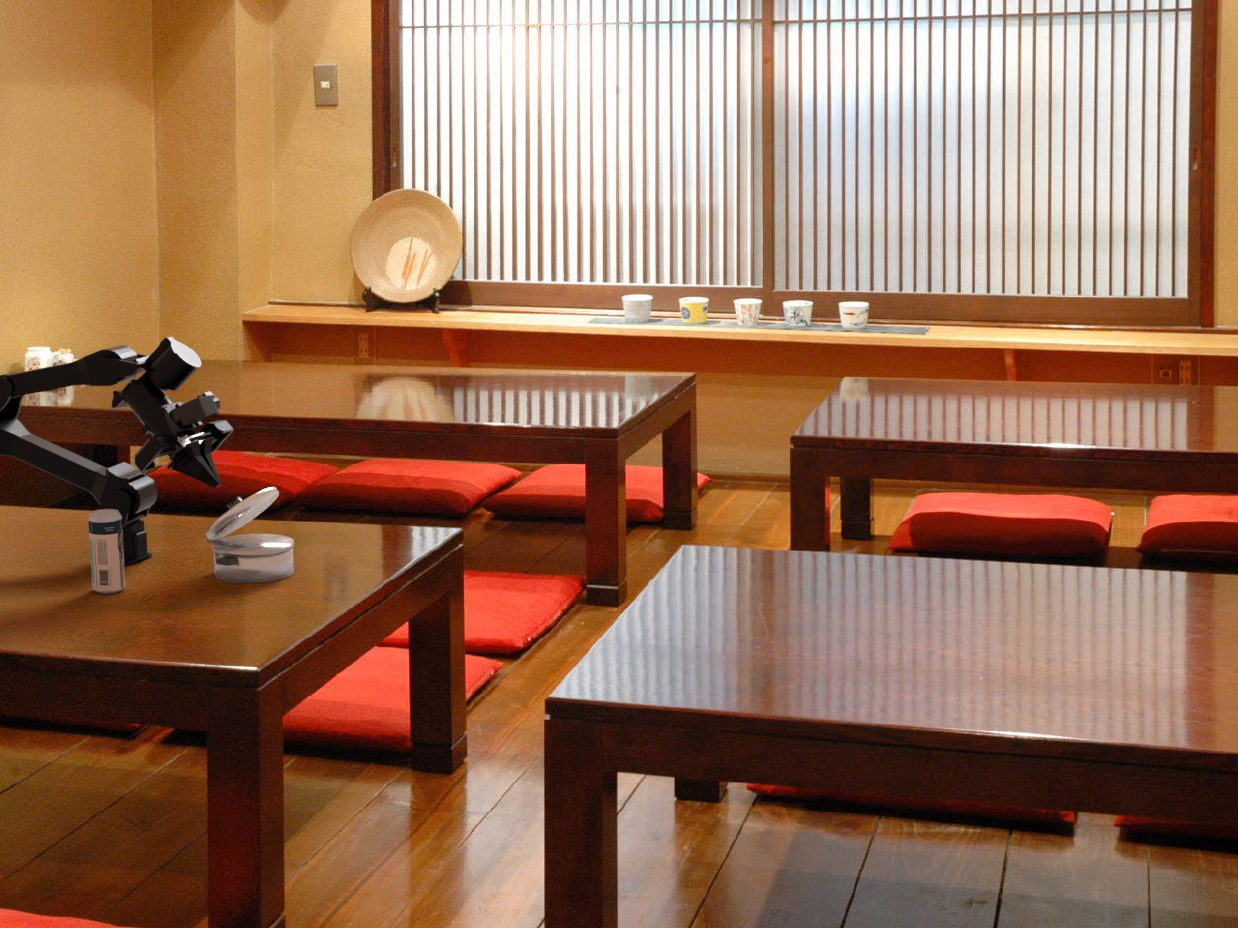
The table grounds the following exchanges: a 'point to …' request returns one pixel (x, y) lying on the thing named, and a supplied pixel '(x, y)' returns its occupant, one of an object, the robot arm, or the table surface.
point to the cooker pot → (253, 558)
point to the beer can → (106, 551)
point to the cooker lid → (241, 513)
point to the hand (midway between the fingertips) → (218, 485)
